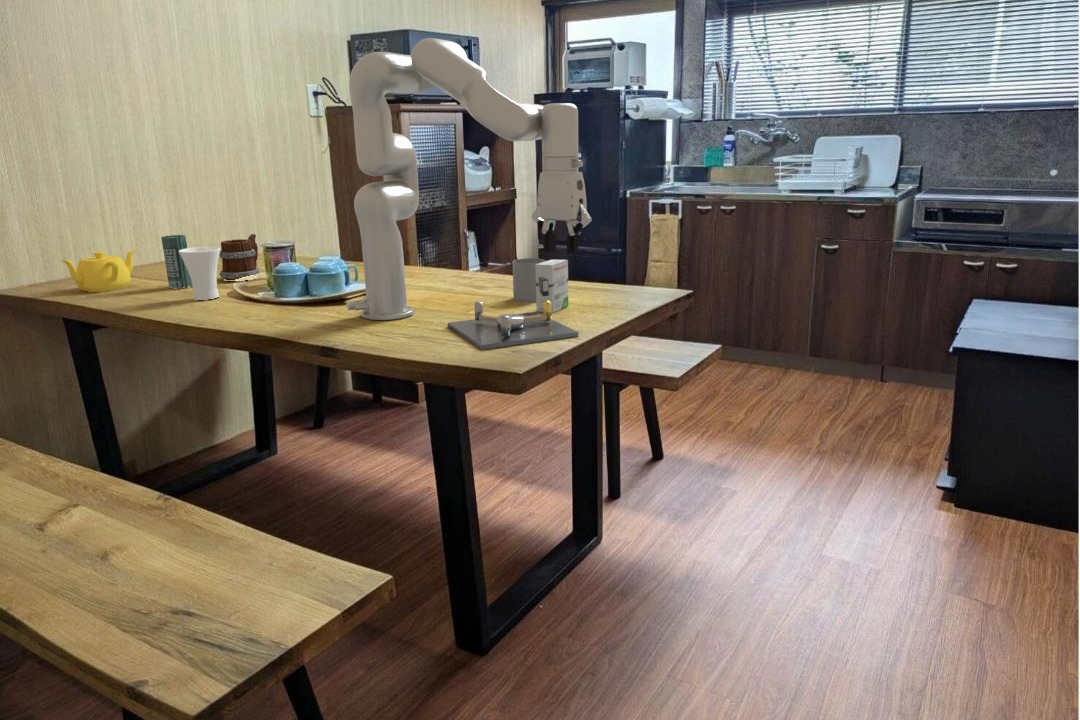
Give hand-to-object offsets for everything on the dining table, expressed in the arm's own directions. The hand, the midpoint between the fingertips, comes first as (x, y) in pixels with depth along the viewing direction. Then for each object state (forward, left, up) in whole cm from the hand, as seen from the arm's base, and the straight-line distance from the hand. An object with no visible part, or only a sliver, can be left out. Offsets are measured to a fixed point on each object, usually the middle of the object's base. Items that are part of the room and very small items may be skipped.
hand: (561, 251), depth 168 cm
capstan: (-8, +5, -16) cm, 19 cm away
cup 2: (+8, +35, -18) cm, 40 cm away
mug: (-57, +108, -18) cm, 124 cm away
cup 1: (-69, +80, -18) cm, 107 cm away
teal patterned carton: (-75, +102, -18) cm, 128 cm away
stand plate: (-10, +5, -17) cm, 21 cm away
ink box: (+8, +21, -18) cm, 28 cm away
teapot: (-95, +111, -18) cm, 147 cm away
